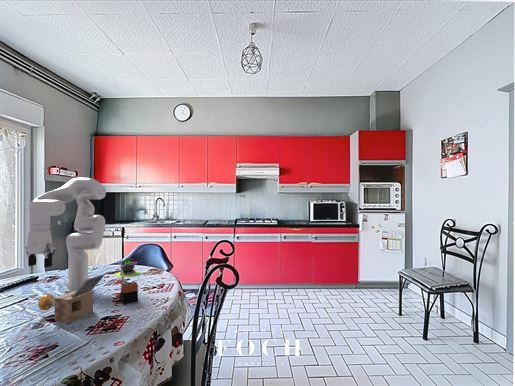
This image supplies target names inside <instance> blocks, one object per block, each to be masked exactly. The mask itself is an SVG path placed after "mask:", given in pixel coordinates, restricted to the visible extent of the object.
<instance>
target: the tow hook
mask: <svg viewBox="0 0 515 386" xmlns="http://www.w3.org/2000/svg"><path fill="white" fill-rule="evenodd" d="M121 272H122V271H121ZM120 278H121V279H120V280H121V283H120V285H121V286H120V292H119V293H118V294H115V298H116V299H117V298H119V299H122V284H124V282H125V277H124V272H122V277H120Z"/></svg>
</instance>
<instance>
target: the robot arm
mask: <svg viewBox="0 0 515 386" xmlns="http://www.w3.org/2000/svg"><path fill="white" fill-rule="evenodd" d="M106 193H107V191H106V187H105V186H104V185H103V184H102V183H100V182H99V181H98V180H96V179H94V178H90V177H76V178H72V179H70V180H68V181H67V182H66V183H65V184H63V185H62V186H61V187H58V188H57V189H53V190H51V191H47V192H44V193H42V194H40V195H38V196H37V197H36V198H35V199H33V200H32V201H31V202H30V203H29V207H28V210H29V231H28V235H27V239H26V246H25V247H24V248H25V254H27V255H26V257H27V260H28V261H27V262H28V263H27V264H28V265H27V266H28V267H32V266H36V265H37V255H43V256H44V258H43V267H44V268H45V269H46V268H50V267H52V266H53V258H54V255H55V252H56V250H57V248H56V247H55V246H54V245H53V239H52V237H53V236H52V230H51V216H53V217H55V216H60V215H63V214H64V213H65V212H66V207H67V206H66V204H67V203H71V202H73V201H74V200H75V201H76V203H77V212H76V216H75V220H74V223H73V229H74V230H75V231H77V232H73V233H70V234H69V235H67V237H66V240H65V245H66V248H67V256H68V258H67V259H68V260H67V261H68V263H67V265H68V276H67V277H68V278H67V281H66V282H64V285H65V286H67V287H66V288H64V291H65V293H66V294H67V293H70V292H73V291H76V290H78V289H79V287H80V286H81V285H82V284H83V283H84V281H85V280H87V279H89V256H88V253H87V252H86V250H87V251H89V250H92V251H93V250H98V249H99V248H101V246H102V242H103V237H104V232H105V229H106V219H105V217H104V216H103V215H101V214H94V213H95V206H94V204H93V203H92V201H90V200H102V199H104V198H105V197H106V196H107V195H106Z"/></svg>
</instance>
